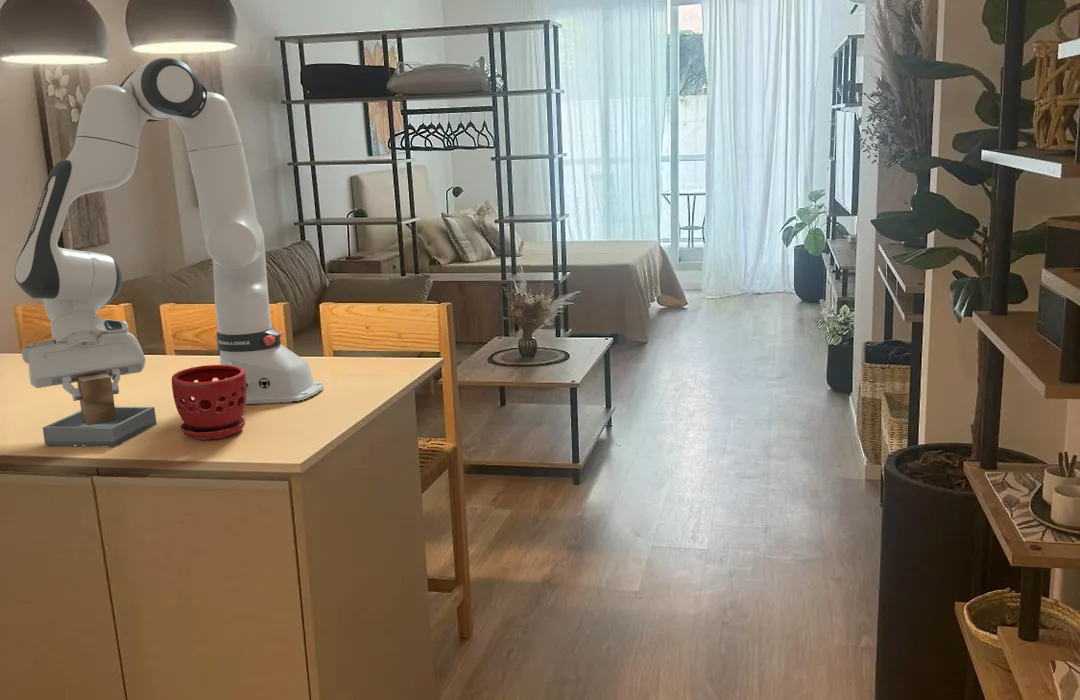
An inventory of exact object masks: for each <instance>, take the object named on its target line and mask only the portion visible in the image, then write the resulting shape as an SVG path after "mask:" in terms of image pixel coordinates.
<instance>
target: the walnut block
mask: <svg viewBox="0 0 1080 700" xmlns="http://www.w3.org/2000/svg"><path fill="white" fill-rule="evenodd" d="M76 383H77V388H81V392H82V396H83V397H82V400H79V403H80V405H79V407H80V410H81V413H82V420H83V421H84V422H85V423H86V424H87V425H93V424H99V423H104V422H110V421H115V420H116V413H115V407H116V406H115V398H114V395H113V390H112V383H113V381H112V378H111V377H110V376H109V375H108V374H107V373H105V372H102V373H96V374H89V375H82V376H77V382H76Z"/></svg>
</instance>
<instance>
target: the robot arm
mask: <svg viewBox="0 0 1080 700" xmlns="http://www.w3.org/2000/svg"><path fill="white" fill-rule="evenodd" d="M78 119H79V120H78V125H77V127H76V129H77V130H76V134H75V141H74V144H73V148H72V150H71V152H70V153H69V154H68V156H67V158H65V159H64V160H61V161H58V162H56V163H55V165H54V166H53V168H52V170H51V171H50V173H49V175H48V177H47V180H46V183H45V185H44V187H43V191H42V194H41V196H40V200H39V203H38V206H37V208H36V211H35V214H34V218H33V221H32V223H31V226H30V229H29V233H28V236H27V239H26V241H25V243H24V245H23V248H22V249H21V251H20V253H19V256H18V258H17V260H16V263H15V266H14V267H15V268H14V280H15V282H16V283H17V285H18V286H19V287H20V289H21V290H22V291H23V292H24V293H25V294H27V296H29V298H31V299H38V300H39V299H40V300H42V302H43V305H44V306H43V307H44V310H45V314H46V316H47V317H48V319H49V320H50V331H51V335H52V338H53V339H52V340H45V341H40V342H31V343H28V345H26V346H25V347H23V348H22V349H21V356H22V360H23V361H24V362H25V364H27V365H28V377H29V381H30V385H31V386H33V387H34V388H36V389H39V388H40V389H42V388H47V387H52V386H53V387H54V386H59V385H60V386H62V389H64V390H65V391H66V392H67V393H68V394H70V395H71V396H72V401H73V402H77V401H80V400H82V397H83V396H82V392H81V388H78V387H77V388H76V387H75V386H74V385H72V384H73V383H77V376H82V375H89V374H96V373H102V372H105V373H107V374H108V375H109V376H110V377H111V381H112V390H113V396H114V395H118V394H120V387H119V382H120V380H121V376H124V375H130V374H137V373H142V371H143V370H144V368H145V366H146V365H145V364H146V356H145V354H144V350H143V349H142V347H141V345H140V342H139V340H138V339H137V338H136V336H135V335H133V334H132V333H131V332H129V331H130V330H129V324H128V322H126V321H124V320H117V319H116V320H115V319H110V318H109V319H107V318H104V317H99V316H98V311H99V310H102V309H103V308H105V307H106V306H107V305H109V303H111V302H112V300H114V299H115V298H116V297H117V296H118V295H119V293H121V292H120V291H121V289H122V286H123V276H122V272H121V269H120V266H119V264H118V263H117V261H116V259H115V258H113V256H111V255H109V254H104V253H99V252H94V251H93V252H92V251H86V250H85V251H82V250H79V249H77V250H76V249H71V248H66V247H65V248H63V247H60V246H59V244H58V243H59V239H60V236H61V233H62V230H63V226H64V224H65V221H66V217H67V215H68V211H69V209H70V206H71V205H72V203H73V202H74V201H75V200H76V199H78V198H79V197H82V196H84V195H87V194H92V193H98V192H105V191H109V190H113V189H116V188H118V187H121V186H122V185H123V184H125V183H126V182H128V181H129V179H131V178H132V176H133V174H134V172H135V170H136V166H137V161H138V155H139V154H138V153H139V147H140V136H141V135H140V134H141V132H142V129H143V127H144V125H145V124H146V122H147V123H149V122H150V123H151V122H159V121H165V120H169V119H172V120H173V121H174V122H175V123H176V124H177V125H178V127H179V129H180V130H181V132H182V135H183V136H184V143H185V146H186V152H187V157H188V161H189V164H190V168H191V173H192V174H191V175H192V177H193V179H192V180H193V183H194V188H195V193H196V198H197V205H198V211H199V217H200V223H201V228H202V234H203V239H204V243H205V244H204V245H205V249H206V252H207V254H208V256H209V257H210V258H211V260H212V267H213V287H214V288H213V293H214V296H213V298H214V307H215V314H216V322H217V332H216V342H217V351H218V356H219V359H220V362H219V365H232V366H237V367H240V368H242V369H244V371H245V375H246V403H245V405H253V404H254V405H255V404H259V405H260V404H274V403H276V404H277V403H278V404H279V403H280V402H282V403H293V402H292V401H298V402H300V401H299V400H302V401H304V400H303V399H306V398H308V399H310V398H309V397H311V396H313V395H315V394H317V393H318V392H319V391H321V390H322V389H323V390H324V388H323V387H324V383H323V382H322V381H321V380H320V381H317V380H314V379H313V375H312V370H311V368H310V365H309V363H308V362H307V361H306V360H305V359H304V358H302V357H301V356H299V355H298V354H296V353H294V352H293V351H292V350H290V349H289V348H287V347H286V346H284V345H283V344H281V343H282V341H281V340H282V339H281V337H283V336H284V334H283V332H284V330H280V331H279V332H278V330H276V329H275V328H274V327H273V326H272V321H271V319H272V318H271V309H270V300H269V299H270V298H269V297H270V296H269V290H268V289H269V287H268V286H269V285H268V274H267V273H268V272H267V259H266V247H265V245H266V244H265V236H264V231H263V229H262V226H261V224H260V223H259V221H258V215H257V210H256V205H255V200H254V199H255V198H254V194H253V189H252V182H251V178H250V173H249V168H248V162H247V160H246V159H247V158H246V154H245V149H244V145H243V140H242V136H241V132H240V130H239V125H238V122H237V120H236V117H235V115H234V112H233V109H232V106H231V105H230V103H229V101H228V100H227V98H226V97H225V96H223V95H221V94H219V93H216V92H212V91H211V92H210V91H207V89H206V87H205V85H204V84H202V81H200V80H199V78H198V76H197V75H196V74H195V72H194V71H193V70H192V68H191V67H190V66H189V65H188V64H186V63H185V62H183V61H181V60H179V59H176V58H172V57H159V58H156V59H154V60H151V61H148V62H145V63H143V64H141V65H140V66H138V68H136V69H135V70H134V71H133V70H132V72H131V73H130V74H128V75H127V77H126V78H125V79H124V80H123V81H122V83H120V84H119V85H114V84H102V85H101V84H100V85H96V86H94V87H92V88H91V89H90V90H89V91H88V92H87V94H86V97H85V99H84V102H83V105H82V108H81V112H80V115H79V118H78ZM225 379H227V378H225ZM323 390H322V391H323ZM322 391H321V392H322ZM318 394H319V393H318ZM318 394H317V395H318ZM315 396H316V395H315ZM313 397H314V396H313ZM311 398H312V397H311ZM306 400H307V399H306ZM280 404H281V403H280Z"/></svg>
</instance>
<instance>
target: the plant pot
mask: <svg viewBox="0 0 1080 700" xmlns="http://www.w3.org/2000/svg"><path fill="white" fill-rule="evenodd" d="M225 378H227V379H225ZM213 379H217V380H213ZM171 387H172V388H171V389H172V396H173V400H174V404H175V408H176V411H177V413H178V415H179V417H180V418H181V421H182V422H183V423H181V425H180V427H179V428H180V432H181V433H182V434H183V435H184V436H186V437H188V438H190V439H193V440H203V441H204V440H205V441H207V440H216V439H222V438H227V437H230V436H233V435H235V434H237V433H238V432H240V431H241V430H242V429H243V428H244V426H245V425H246V420H245V418H244V417H243V416H242V415H243V413H244V410H245V408H246V407H245V406H246V404H245V403H246V375H245V371H244V369H242V368H240V367H237V366H232V365H220V364H209V365H207V364H206V365H198V366H193V367H190V368H186V369H182V370H180V371H178V372H177V371H176V373H174V374H173V375H172V377H171ZM192 398H193V399H192Z"/></svg>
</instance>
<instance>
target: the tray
mask: <svg viewBox="0 0 1080 700" xmlns="http://www.w3.org/2000/svg"><path fill="white" fill-rule="evenodd" d="M155 409H156V408H155V406H154V407H153V406H115V413H116V420H115V421H110V422H104V423H99V424H93V425H87V424H86V423H85V422H84V421H83V420H82V413H81V409H80V410H78V411H76V412H74V413H72V414H70V415H68V416H65V417H63V418H60V419H59V420H57V421H55V422H52V423H50V424H48V425H46V426H43V427H42V433H43V439H44V445H52V446H51V447H84V446H111V447H110V448H116V447H117V445H118V446H120V445H121V444H124V443H125V442H126V441H128V440H130V439H132V438H134V437H136V436H138V435H140V434H141V433H143V432H145V431H147V430H149V429H151V428H153V427H154V426H156V425H157V418H156V410H155ZM124 441H125V442H124ZM54 445H55V446H54ZM74 445H76V446H74ZM83 445H84V446H83ZM115 446H116V447H115Z"/></svg>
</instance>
